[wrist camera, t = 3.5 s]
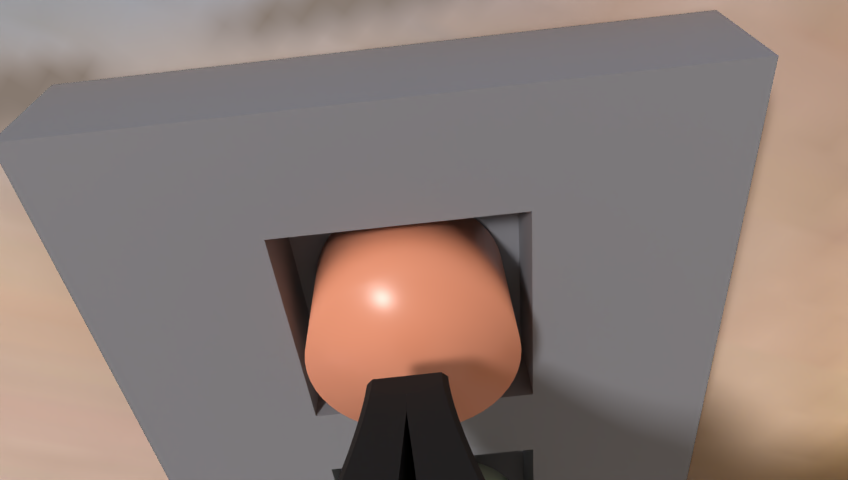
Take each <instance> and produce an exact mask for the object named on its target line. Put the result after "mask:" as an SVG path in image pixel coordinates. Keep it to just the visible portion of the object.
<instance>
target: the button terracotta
mask: <svg viewBox="0 0 848 480" xmlns="http://www.w3.org/2000/svg"><path fill="white" fill-rule="evenodd" d="M520 361H521V342H520V336H519V332H518V328H517V323H516V319H515V315H514V311H513V306H512V302H511V298H510V293H509V289H508V285H507V280H506V276H505V272H504V267H503V263H502V259H501V255H500V252H499V249H498V247H497V245H496V243H495V240H494V239H493V237H492V236H491V235H490V233H489V232H488V231H487V229H486V228H485V227H484V226H483V225H482V224H481V223H480V222H478V221H477V220H476V219H475V218H465V219H456V220H446V221H437V222H428V223H418V224H409V225H400V226H390V227H381V228H372V229H362V230H353V231H343V232H334V233H332V234H331V235H330V236H329V238H328V239H327V241H326V242H325V244H324V246H323V248H322V250H321V253H320V256H319V259H318V265H317V271H316V278H315V285H314V292H313V298H312V305H311V312H310V319H309V326H308V333H307V340H306V347H305V365H306V370H307V374H308V376H309V379H310V381H311V383H312V385H313V387H314V388H315V390H316V391H317V393H318V394H319V395H320V396H321V397H322V399H323V400H325V401H326V402H327V403H328V404H329V405H330V406H331V407H332V408H334V409H335V410H337V411H338V412H340V413H341V414H343V415H345V416H347V417H348V418H350V419H353V420H355V421H357V422H358V420H359V417H360V413H361V409H362V406H363V402H364V397H365V393H366V388H367V384H368V383H369V382H370V381H371V380H372V379H380V378H389V377H399V376H409V375H418V374H428V373H437V372H442V373H444V374H445V375H447V376H448V379H449V385H450V390H451V394H452V398H453V401H454V405H455V408H456V411H457V414H458V417H459V420H460V422H462V421H465V420H467V419H469V418H471V417H474V416H475V415H477V414H479V413H481V412H482V411H484V410H485V409H487V408H488V407H490V406H491V405H492V404H494V403H495V402H496V401H497V400H498V399H499V398H500V397H501V396H502V395H503V394H504V393H505V392H506V390H507V389H508V388H509V386H510V385H511V383H512V382H513V380H514V378H515V376H516V374H517V372H518V369H519V365H520Z"/></svg>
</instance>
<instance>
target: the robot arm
mask: <svg viewBox="0 0 848 480" xmlns="http://www.w3.org/2000/svg"><path fill="white" fill-rule="evenodd" d="M338 480H485V478H484V476H483V474H482V472H481V470H480V467H479V465H478V463H477V461H476V459H475V457H474V455H473V452H472V450H471V448H470V445H469V443H468V441H467V438H466V436H465V433H464V430H463V428H462V425H461V423H460V420H459V417H458V414H457V411H456V408H455V405H454V401H453V398H452V394H451V390H450V385H449V379H448V376H447V375H445V374H444V373H442V372H437V373H428V374H418V375H409V376H399V377H389V378H380V379H372V380H371V381H370V382H369V383H368V384H367V388H366V393H365V397H364V402H363V406H362V409H361V413H360V417H359V420H358V423H357V427H356V430H355V433H354V436H353V439H352V442H351V445H350V448H349V451H348V454H347V456H346V459H345V461H344V464H343V467H342V469H341V472H340V475H339V477H338Z"/></svg>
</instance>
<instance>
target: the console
mask: <svg viewBox="0 0 848 480" xmlns="http://www.w3.org/2000/svg"><path fill="white" fill-rule="evenodd" d="M777 61H778V55H777V54H775V53H774V52H773V51H771V50H770V49H769V48H767V47H766V46H765V45H763V44H762V43H760V42H759V41H758V40H756V39H755V38H754V37H752V36H751V35H749V34H748V33H747V32H745V31H744V30H743V29H741V28H740V27H739V26H737V25H736V24H734V23H733V22H732V21H730V20H729V19H728V18H726V17H725V16H723V15H722V14H721V13H719V12H718V11H717V10H713V11H704V12H695V13H687V14H678V15H669V16H660V17H651V18H642V19H633V20H624V21H616V22H607V23H598V24H589V25H580V26H571V27H562V28H553V29H544V30H536V31H527V32H518V33H509V34H500V35H491V36H482V37H473V38H465V39H456V40H447V41H438V42H429V43H420V44H411V45H402V46H394V47H385V48H376V49H367V50H358V51H349V52H340V53H331V54H322V55H314V56H305V57H296V58H287V59H278V60H269V61H260V62H251V63H243V64H234V65H225V66H216V67H207V68H198V69H189V70H180V71H172V72H163V73H154V74H145V75H136V76H127V77H118V78H109V79H100V80H92V81H83V82H74V83H65V84H56V85H51V86H50V87H49V88H48V89H47V90H46V91H45V92H44V93H43V94H42V95H41V96H40V97H39V98H37V99H36V100H35V101H34V102H33V103H32V104H31V105H30V106H29V107H28V108H27V109H26V110H25V111H24V112H22V113H21V114H20V115H19V116H18V117H17V118H16V119H15V120H14V121H13V122H12V123H11V124H10V125H9V126H7V127H6V128H5V129H4V130H3V131H2V132H1V133H0V164H1V166H2V167H3V169H4V171H5V173H6V175H7V177H8V179H9V181H10V182H11V184H12V186H13V188H14V190H15V192H16V194H17V196H18V197H19V199H20V201H21V203H22V205H23V207H24V209H25V211H26V212H27V214H28V216H29V218H30V220H31V222H32V224H33V226H34V227H35V229H36V231H37V233H38V235H39V237H40V239H41V241H42V242H43V244H44V246H45V248H46V250H47V252H48V254H49V256H50V257H51V259H52V261H53V263H54V265H55V267H56V269H57V271H58V272H59V274H60V276H61V278H62V280H63V282H64V284H65V286H66V287H67V289H68V291H69V293H70V295H71V297H72V299H73V301H74V302H75V304H76V306H77V308H78V310H79V312H80V314H81V316H82V317H83V319H84V321H85V323H86V325H87V327H88V329H89V331H90V332H91V334H92V336H93V338H94V340H95V342H96V344H97V346H98V347H99V349H100V351H101V353H102V355H103V357H104V359H105V361H106V362H107V364H108V366H109V368H110V370H111V372H112V374H113V376H114V377H115V379H116V381H117V383H118V385H119V387H120V389H121V391H122V392H123V394H124V396H125V398H126V400H127V402H128V404H129V406H130V407H131V409H132V411H133V413H134V415H135V417H136V419H137V421H138V422H139V424H140V426H141V428H142V430H143V432H144V434H145V436H146V437H147V439H148V441H149V443H150V445H151V447H152V449H153V451H154V452H155V454H156V456H157V458H158V460H159V462H160V464H161V466H162V467H163V469H164V471H165V473H166V475H167V477H168V479H169V480H338V477H339V475H340V472H341V469H342V467H343V464H344V461H345V459H346V456H347V454H348V451H349V448H350V445H351V442H352V439H353V436H354V433H355V430H356V427H357V423H358V422H357V421H355V420H353V419H350V418H348V417H347V416H345V415H343V414H341V413H340V412H338V411H337V410H335V409H334V408H332V407H331V406H330V405H329V404H328V403H327V402H326V401H325V400H323V399H322V397H321V396H320V395H319V394H318V393H317V391H316V390H315V388H314V387H313V385H312V383H311V381H310V379H309V376H308V374H307V370H306V365H305V347H306V340H307V333H308V326H309V319H310V312H311V305H312V298H313V292H314V285H315V278H316V271H317V265H318V259H319V256H320V253H321V250H322V248H323V246H324V244H325V242H326V241H327V239H328V238H329V236H330V235H331V234H332V233H334V232H343V231H353V230H362V229H372V228H381V227H390V226H400V225H409V224H418V223H428V222H437V221H446V220H456V219H465V218H475V219H476V220H477V221H478V222H480V223H481V224H482V225H483V226H484V227H485V228H486V229H487V231H488V232H489V233H490V235H491V236H492V237H493V239H494V240H495V243H496V245H497V247H498V249H499V252H500V255H501V259H502V263H503V267H504V272H505V276H506V280H507V285H508V289H509V293H510V298H511V302H512V306H513V311H514V315H515V319H516V323H517V328H518V332H519V336H520V342H521V361H520V365H519V369H518V372H517V374H516V376H515V378H514V380H513V382H512V383H511V385H510V386H509V388H508V389H507V390H506V392H505V393H504V394H503V395H502V396H501V397H500V398H499V399H498V400H497V401H496V402H495V403H494V404H492V405H491V406H490V407H488V408H487V409H485V410H484V411H482V412H481V413H479V414H477V415H475V416H474V417H471V418H469V419H467V420H465V421H462V422H460V423H461V425H462V428H463V430H464V433H465V436H466V438H467V441H468V443H469V445H470V448H471V450H472V452H473V455H474V457H475V459H476V461H477V463H480V464H483V465H486V466H488V467H490V468H493V469H494V470H496V471H498V472H500V473H501V474H502V475H503V476H505V477H506V478H507V479H508V480H687V476H688V471H689V467H690V462H691V457H692V453H693V448H694V443H695V439H696V434H697V430H698V425H699V420H700V416H701V411H702V407H703V402H704V397H705V393H706V388H707V383H708V379H709V374H710V370H711V365H712V360H713V356H714V351H715V347H716V342H717V337H718V333H719V328H720V324H721V319H722V314H723V310H724V305H725V300H726V296H727V291H728V287H729V282H730V277H731V273H732V268H733V264H734V259H735V254H736V250H737V245H738V240H739V236H740V231H741V227H742V222H743V217H744V213H745V208H746V204H747V199H748V194H749V190H750V185H751V180H752V176H753V171H754V167H755V162H756V157H757V153H758V148H759V144H760V139H761V134H762V130H763V125H764V121H765V116H766V111H767V107H768V102H769V97H770V93H771V88H772V84H773V79H774V74H775V70H776V65H777Z"/></svg>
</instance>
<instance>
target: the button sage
mask: <svg viewBox="0 0 848 480" xmlns="http://www.w3.org/2000/svg"><path fill="white" fill-rule="evenodd" d="M478 465H479V467H480V470H481V472H482V474H483V476H484V478H485V480H508V479H507V478H506V477H505V476H503V475H502V474H501V473H500V472H498V471H496V470H494V469H493V468H490V467H488V466H486V465H483V464H480V463H478Z"/></svg>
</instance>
